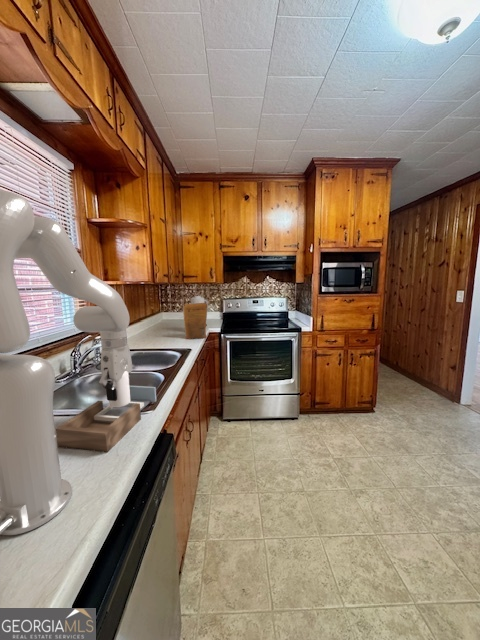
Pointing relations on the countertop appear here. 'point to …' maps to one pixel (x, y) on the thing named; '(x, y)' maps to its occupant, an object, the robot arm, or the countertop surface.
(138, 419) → the wooden coaster holder
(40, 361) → the robot arm
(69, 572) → the countertop surface
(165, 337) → the countertop surface
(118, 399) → the can
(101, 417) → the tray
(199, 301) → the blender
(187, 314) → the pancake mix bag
